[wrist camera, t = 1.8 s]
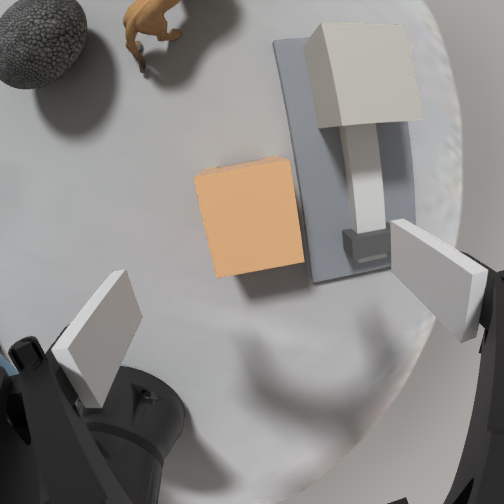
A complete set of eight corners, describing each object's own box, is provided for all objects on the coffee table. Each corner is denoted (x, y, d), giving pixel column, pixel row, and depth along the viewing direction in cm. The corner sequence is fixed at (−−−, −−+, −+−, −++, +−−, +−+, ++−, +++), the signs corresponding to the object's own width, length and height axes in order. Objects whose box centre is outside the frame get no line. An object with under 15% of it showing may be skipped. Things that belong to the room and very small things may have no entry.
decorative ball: (91, 92, 26) (37, 78, 16) (19, 95, 25) (-41, 91, 15) (113, 4, 22) (72, -35, 13) (38, 15, 21) (-13, -9, 12)
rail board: (311, 278, 33) (330, 318, 26) (272, 43, 25) (284, 13, 18) (411, 257, 33) (449, 287, 26) (386, 39, 25) (426, 18, 17)
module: (220, 248, 32) (216, 278, 25) (203, 169, 29) (193, 178, 23) (290, 235, 32) (304, 261, 25) (277, 155, 29) (289, 159, 22)
